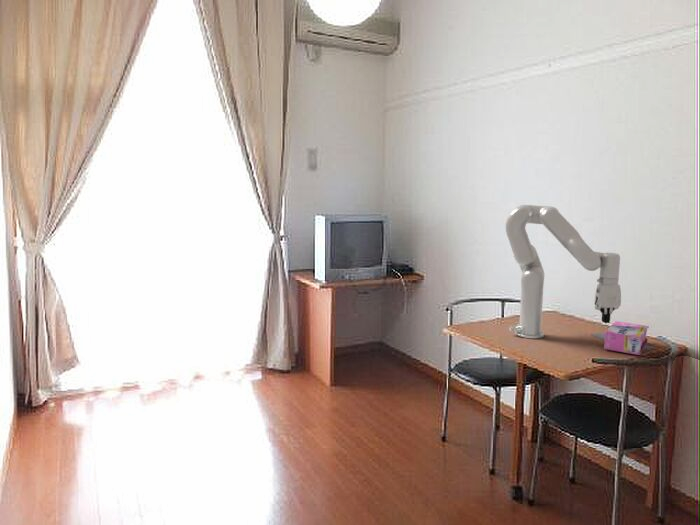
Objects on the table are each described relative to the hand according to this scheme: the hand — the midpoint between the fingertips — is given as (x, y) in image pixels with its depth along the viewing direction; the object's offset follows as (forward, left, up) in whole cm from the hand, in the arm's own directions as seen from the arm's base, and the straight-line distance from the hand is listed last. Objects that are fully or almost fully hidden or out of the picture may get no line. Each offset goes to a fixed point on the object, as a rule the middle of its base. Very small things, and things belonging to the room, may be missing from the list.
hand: (605, 322), depth 241 cm
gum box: (0, -3, -5) cm, 5 cm away
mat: (+8, 0, -9) cm, 13 cm away
